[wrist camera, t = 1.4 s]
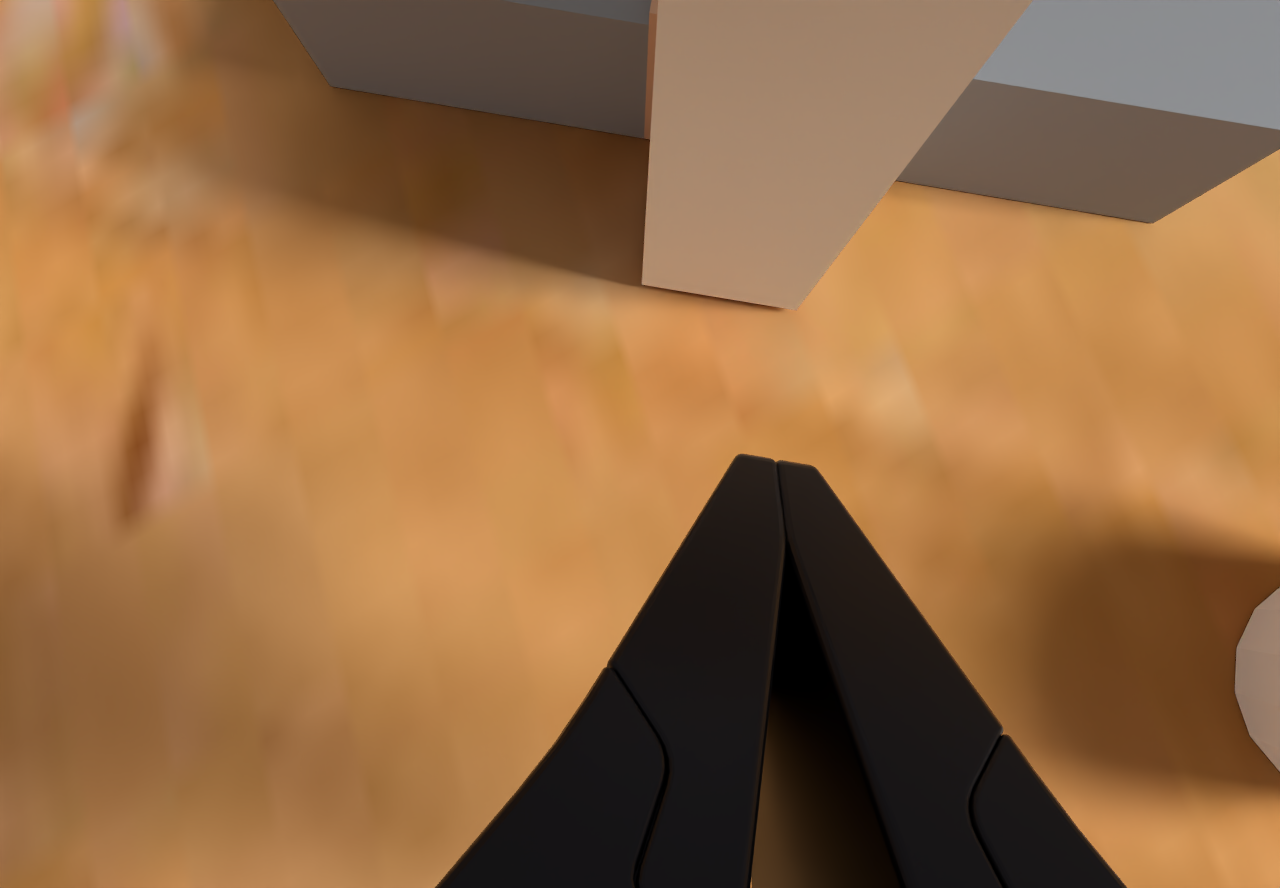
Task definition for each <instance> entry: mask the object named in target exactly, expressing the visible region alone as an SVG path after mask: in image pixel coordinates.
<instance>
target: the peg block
mask: <svg viewBox="0 0 1280 888" xmlns="http://www.w3.org/2000/svg"><path fill="white" fill-rule="evenodd" d="M1032 1H1033V0H658V12H657V30H656V47H655V64H654V81H653V99H652V116H651V133H650V150H649V168H648V185H647V202H646V219H645V237H644V254H643V271H642V285H647V286H653V287H659V288H665V289H671V290H677V291H683V292H689V293H695V294H701V295H707V296H713V297H719V298H725V299H731V300H737V301H743V302H749V303H755V304H761V305H767V306H773V307H779V308H785V309H791V310H797V309H798V307H799V306H800V305H801V304H802V302H803V301H804V300H805V298H806V297H807V296H808V294H809V293H810V292H811V290H812V289H813V288H814V287H815V285H816V284H817V283H818V281H819V280H820V279H821V277H822V276H823V275H824V273H825V272H826V271H827V269H828V268H829V267H830V266H831V264H832V263H833V262H834V260H835V259H836V258H837V256H838V255H839V254H840V252H841V251H842V250H843V249H844V247H845V246H846V245H847V243H848V242H849V241H850V239H851V238H852V237H853V235H854V234H855V233H856V231H857V230H858V229H859V228H860V226H861V225H862V224H863V222H864V221H865V220H866V218H867V217H868V216H869V214H870V213H871V212H872V211H873V209H874V208H875V207H876V205H877V204H878V203H879V201H880V200H881V199H882V197H883V196H884V195H885V193H886V192H887V191H888V190H889V188H890V187H891V186H892V184H893V183H894V182H895V180H896V179H897V178H898V176H899V175H900V174H901V172H902V171H903V170H904V169H905V167H906V166H907V165H908V163H909V162H910V161H911V159H912V158H913V157H914V155H915V154H916V153H917V152H918V150H919V149H920V148H921V146H922V145H923V144H924V142H925V141H926V140H927V138H928V137H929V136H930V134H931V133H932V132H933V131H934V129H935V128H936V127H937V125H938V124H939V123H940V121H941V120H942V119H943V117H944V116H945V115H946V114H947V112H948V111H949V110H950V108H951V107H952V106H953V104H954V103H955V102H956V100H957V99H958V98H959V96H960V95H961V94H962V93H963V91H964V90H965V89H966V87H967V86H968V85H969V83H970V82H971V81H972V79H973V78H974V77H975V76H976V74H977V73H978V72H979V70H980V69H981V68H982V66H983V65H984V64H985V62H986V61H987V60H988V58H989V57H990V56H991V55H992V53H993V52H994V51H995V49H996V48H997V47H998V45H999V44H1000V43H1001V41H1002V40H1003V39H1004V37H1005V36H1006V35H1007V34H1008V32H1009V31H1010V30H1011V28H1012V27H1013V26H1014V24H1015V23H1016V22H1017V20H1018V19H1019V18H1020V17H1021V15H1022V14H1023V13H1024V11H1025V10H1026V9H1027V7H1028V6H1029V5H1030V3H1031V2H1032Z"/></svg>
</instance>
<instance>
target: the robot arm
mask: <svg viewBox="0 0 1280 888" xmlns="http://www.w3.org/2000/svg"><path fill="white" fill-rule="evenodd" d="M1002 733H1003V727H1002V725H1001V724H1000V722H999V721H998V719H997V718H996V717H995V715H994V714H993V713H992V711H991V710H990V708H989V707H988V706H987V704H986V703H985V701H984V700H983V699H982V697H981V696H980V694H979V693H978V692H977V690H976V689H975V688H974V686H973V685H972V683H971V682H970V681H969V679H968V678H967V676H966V675H965V674H964V672H963V671H962V669H961V668H960V667H959V665H958V664H957V662H956V661H955V660H954V658H953V657H952V656H951V654H950V653H949V651H948V650H947V649H946V647H945V646H944V644H943V643H942V642H941V640H940V639H939V637H938V636H937V635H936V633H935V632H934V631H933V629H932V628H931V626H930V625H929V624H928V622H927V621H926V619H925V618H924V617H923V615H922V614H921V612H920V611H919V610H918V608H917V607H916V606H915V604H914V603H913V601H912V600H911V599H910V597H909V596H908V594H907V593H906V592H905V590H904V589H903V587H902V586H901V585H900V583H899V582H898V581H897V579H896V578H895V576H894V575H893V574H892V572H891V571H890V569H889V568H888V567H887V565H886V564H885V562H884V561H883V560H882V558H881V557H880V556H879V554H878V553H877V551H876V550H875V549H874V547H873V546H872V544H871V543H870V542H869V540H868V539H867V537H866V536H865V535H864V533H863V532H862V530H861V529H860V528H859V526H858V525H857V524H856V522H855V521H854V519H853V518H852V517H851V515H850V514H849V512H848V511H847V510H846V508H845V507H844V505H843V504H842V503H841V501H840V500H839V499H838V497H837V496H836V494H835V493H834V492H833V490H832V489H831V487H830V486H829V485H828V483H827V482H826V480H825V479H824V478H823V476H822V475H821V474H820V472H819V471H818V470H817V469H816V468H815V467H814V466H811V465H807V464H801V463H795V462H789V461H783V460H779V461H777V462H775V461H774V460H773V459H771V458H765V457H759V456H753V455H748V454H739V455H737V456H736V457H735V458H734V460H733V461H732V463H731V464H730V466H729V468H728V469H727V471H726V472H725V474H724V476H723V477H722V479H721V481H720V482H719V484H718V485H717V487H716V489H715V490H714V492H713V493H712V495H711V497H710V498H709V500H708V502H707V503H706V505H705V506H704V508H703V510H702V511H701V513H700V514H699V516H698V518H697V519H696V521H695V523H694V524H693V526H692V527H691V529H690V531H689V532H688V534H687V535H686V537H685V539H684V540H683V542H682V543H681V545H680V547H679V548H678V550H677V552H676V553H675V555H674V556H673V558H672V560H671V561H670V563H669V564H668V566H667V568H666V569H665V571H664V573H663V574H662V576H661V577H660V579H659V581H658V582H657V584H656V585H655V587H654V589H653V590H652V592H651V594H650V595H649V597H648V598H647V600H646V602H645V603H644V605H643V606H642V608H641V610H640V611H639V613H638V615H637V616H636V618H635V619H634V621H633V623H632V624H631V626H630V627H629V629H628V631H627V632H626V634H625V635H624V637H623V639H622V640H621V642H620V644H619V645H618V647H617V648H616V650H615V652H614V653H613V655H612V656H611V658H610V660H609V661H608V663H607V667H606V668H604V669H603V670H602V672H601V673H600V675H599V676H598V678H597V680H596V681H595V683H594V684H593V686H592V688H591V689H590V691H589V692H588V694H587V696H586V697H585V699H584V700H583V702H582V703H581V705H580V706H579V708H578V709H577V711H576V712H575V714H574V715H573V717H572V718H571V719H570V721H569V722H568V724H567V725H566V727H565V728H564V730H563V731H562V733H561V734H560V736H559V737H558V739H557V740H556V742H555V743H554V744H553V746H552V747H551V748H550V749H549V751H548V752H547V753H546V754H545V756H544V757H543V758H542V760H541V761H540V762H539V763H538V765H537V766H536V767H535V769H534V770H533V771H532V772H531V774H530V775H529V776H528V777H527V779H526V780H525V781H524V783H523V784H522V785H521V786H520V788H519V789H518V790H517V791H516V793H515V794H514V795H513V796H512V797H511V799H510V800H509V801H508V802H507V803H506V804H505V806H504V807H503V808H502V809H501V810H500V812H499V813H498V814H497V815H496V816H495V817H494V819H493V820H492V821H491V822H490V823H489V825H488V826H487V827H486V828H485V829H484V830H483V832H482V833H481V834H480V835H479V836H478V838H477V839H476V840H475V841H474V842H473V843H472V845H471V846H470V847H469V848H468V849H467V851H466V852H465V853H464V854H463V855H462V856H461V858H460V859H459V860H458V861H457V862H456V864H455V865H454V866H453V867H452V868H451V869H450V871H449V872H448V873H447V874H446V875H445V877H444V878H443V879H442V880H441V881H440V882H439V884H438V885H437V886H436V887H435V888H750V883H751V878H752V888H1127V887H1126V886H1125V885H1124V883H1123V882H1122V881H1121V880H1120V878H1119V877H1118V876H1117V875H1116V874H1115V872H1114V871H1113V870H1112V869H1111V868H1110V866H1109V865H1108V864H1107V863H1106V861H1105V860H1104V859H1103V858H1102V857H1101V855H1100V854H1099V853H1098V852H1097V850H1096V849H1095V848H1094V847H1093V846H1092V844H1091V843H1090V842H1089V841H1088V840H1087V838H1086V837H1085V836H1084V835H1083V833H1082V832H1081V831H1080V830H1079V829H1078V827H1077V826H1076V825H1075V823H1074V822H1073V821H1072V819H1071V818H1070V817H1069V815H1068V814H1067V813H1066V811H1065V810H1064V809H1063V807H1062V806H1061V805H1060V803H1059V802H1058V801H1057V799H1056V798H1055V797H1054V795H1053V794H1052V793H1051V792H1050V790H1049V789H1048V788H1047V786H1046V785H1045V784H1044V782H1043V781H1042V780H1041V778H1040V777H1039V776H1038V774H1037V773H1036V772H1035V770H1034V769H1033V768H1032V766H1031V765H1030V763H1029V762H1028V761H1027V759H1026V758H1025V756H1024V755H1023V754H1022V752H1021V751H1020V749H1019V748H1018V747H1017V745H1016V744H1015V743H1014V741H1013V740H1012V738H1011V737H1010V736H1009V735H1002ZM1001 735H1002V736H1001Z"/></svg>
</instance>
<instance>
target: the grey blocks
mask: <svg viewBox="0 0 1280 888" xmlns="http://www.w3.org/2000/svg"><path fill="white" fill-rule="evenodd" d="M273 1H274V2H275V4H276V5H277V7H278V8H279V10H280V11H281V13H282V14H283V16H284V17H285V19H286V20H287V22H288V23H289V25H290V26H291V28H292V29H293V31H294V32H295V34H296V35H297V37H298V38H299V40H300V41H301V43H302V44H303V46H304V47H305V49H306V50H307V52H308V53H309V55H310V56H311V58H312V59H313V61H314V62H315V64H316V65H317V67H318V68H319V70H320V71H321V73H322V74H323V76H324V77H325V79H326V80H327V82H328V83H329V85H330V86H332V87H338V88H344V89H350V90H356V91H362V92H368V93H374V94H380V95H386V96H392V97H398V98H404V99H410V100H416V101H422V102H428V103H434V104H440V105H446V106H452V107H458V108H464V109H470V110H476V111H482V112H488V113H494V114H500V115H506V116H512V117H518V118H524V119H530V120H536V121H542V122H548V123H554V124H560V125H566V126H572V127H578V128H584V129H590V130H596V131H602V132H608V133H614V134H620V135H626V136H632V137H638V138H644V139H650V133H651V116H652V99H653V81H654V64H655V47H656V30H657V12H658V0H273ZM1279 149H1280V0H1033V1H1032V2H1031V3H1030V5H1029V6H1028V7H1027V9H1026V10H1025V11H1024V13H1023V14H1022V15H1021V17H1020V18H1019V19H1018V20H1017V22H1016V23H1015V24H1014V26H1013V27H1012V28H1011V30H1010V31H1009V32H1008V34H1007V35H1006V36H1005V37H1004V39H1003V40H1002V41H1001V43H1000V44H999V45H998V47H997V48H996V49H995V51H994V52H993V53H992V55H991V56H990V57H989V58H988V60H987V61H986V62H985V64H984V65H983V66H982V68H981V69H980V70H979V72H978V73H977V74H976V76H975V77H974V78H973V79H972V81H971V82H970V83H969V85H968V86H967V87H966V89H965V90H964V91H963V93H962V94H961V95H960V96H959V98H958V99H957V100H956V102H955V103H954V104H953V106H952V107H951V108H950V110H949V111H948V112H947V114H946V115H945V116H944V117H943V119H942V120H941V121H940V123H939V124H938V125H937V127H936V128H935V129H934V131H933V132H932V133H931V134H930V136H929V137H928V138H927V140H926V141H925V142H924V144H923V145H922V146H921V148H920V149H919V150H918V152H917V153H916V154H915V155H914V157H913V158H912V159H911V161H910V162H909V163H908V165H907V166H906V167H905V169H904V170H903V171H902V172H901V174H900V175H899V176H898V178H897V179H896V181H902V182H908V183H914V184H920V185H926V186H932V187H938V188H944V189H950V190H956V191H963V192H969V193H975V194H981V195H987V196H993V197H999V198H1005V199H1011V200H1017V201H1023V202H1029V203H1035V204H1041V205H1047V206H1053V207H1059V208H1065V209H1071V210H1077V211H1083V212H1089V213H1095V214H1101V215H1107V216H1113V217H1119V218H1125V219H1131V220H1137V221H1143V222H1149V223H1154V222H1156V221H1158V220H1160V219H1161V218H1163V217H1165V216H1166V215H1168V214H1170V213H1171V212H1173V211H1175V210H1177V209H1178V208H1180V207H1182V206H1183V205H1185V204H1187V203H1189V202H1190V201H1192V200H1194V199H1195V198H1197V197H1199V196H1200V195H1202V194H1204V193H1206V192H1207V191H1209V190H1211V189H1212V188H1214V187H1216V186H1218V185H1219V184H1221V183H1223V182H1224V181H1226V180H1228V179H1229V178H1231V177H1233V176H1235V175H1236V174H1238V173H1240V172H1241V171H1243V170H1245V169H1246V168H1248V167H1250V166H1252V165H1253V164H1255V163H1257V162H1258V161H1260V160H1262V159H1264V158H1265V157H1267V156H1269V155H1270V154H1272V153H1274V152H1275V151H1277V150H1279Z"/></svg>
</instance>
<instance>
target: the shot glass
mask: <svg viewBox="0 0 1280 888" xmlns="http://www.w3.org/2000/svg"><path fill="white" fill-rule="evenodd" d="M1235 695H1236V698H1237V700H1238V703H1239V706H1240V709H1241V712H1242V715H1243V718H1244V721H1245V724H1246V726H1247V729H1248V732H1249V735H1250V737H1251V738H1252V739H1253V740H1254V742H1255V743H1256V744H1257V745H1258V746H1259V748H1260V749H1261V750H1262V751H1263V752H1264V754H1265V755H1266V756H1267V757H1268V758H1269V760H1270V761H1271V762H1272V763H1273V764H1274V766H1275V767H1276V768H1277V769H1278V770H1279V772H1280V587H1279V588H1278V589H1277V590H1276V591H1275V592H1273V593H1272V594H1271V595H1270V596H1269V597H1268V598H1267V599H1265V600H1264V601H1263V602H1262V603H1261V604H1260V605H1258V606H1257V607H1256V608H1255V609H1254V611H1253V613H1252V616H1251V618H1250V620H1249V622H1248V624H1247V626H1246V628H1245V631H1244V633H1243V635H1242V637H1241V639H1240V641H1239V643H1238V646H1237V648H1236V673H1235Z"/></svg>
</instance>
